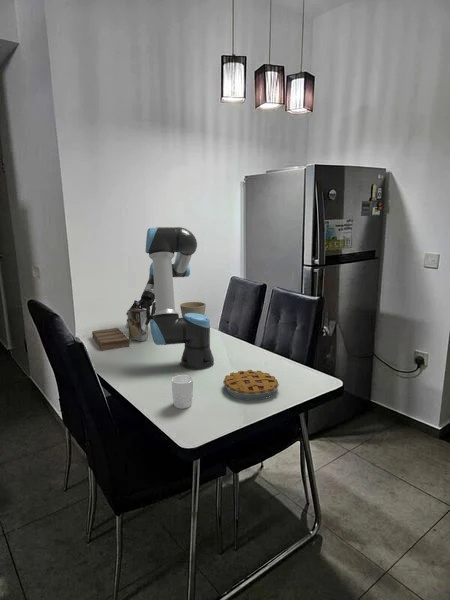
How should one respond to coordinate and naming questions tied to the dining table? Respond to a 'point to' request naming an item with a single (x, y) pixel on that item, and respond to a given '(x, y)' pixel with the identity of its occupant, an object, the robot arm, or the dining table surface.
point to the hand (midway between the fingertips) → (134, 328)
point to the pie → (250, 384)
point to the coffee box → (137, 324)
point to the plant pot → (192, 308)
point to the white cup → (182, 391)
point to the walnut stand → (110, 339)
